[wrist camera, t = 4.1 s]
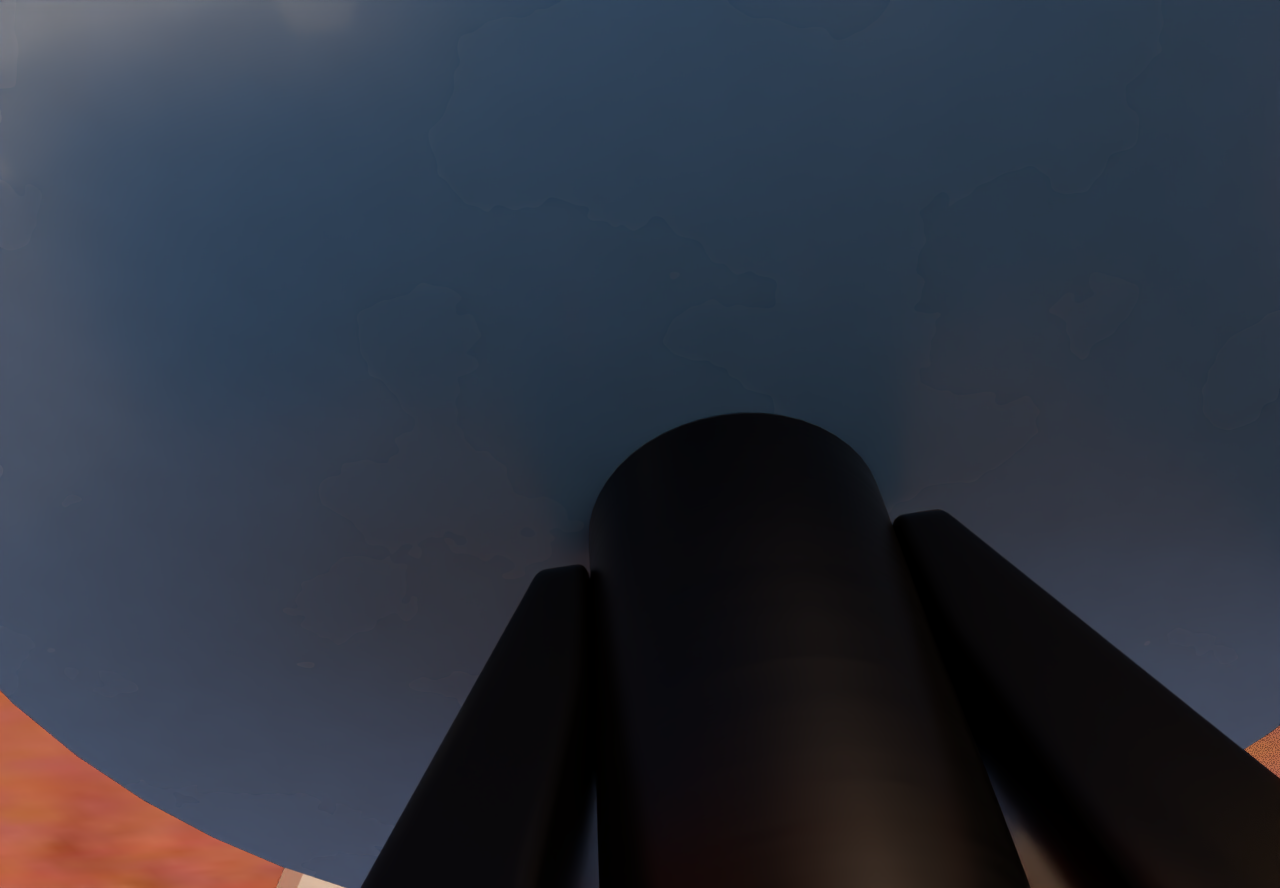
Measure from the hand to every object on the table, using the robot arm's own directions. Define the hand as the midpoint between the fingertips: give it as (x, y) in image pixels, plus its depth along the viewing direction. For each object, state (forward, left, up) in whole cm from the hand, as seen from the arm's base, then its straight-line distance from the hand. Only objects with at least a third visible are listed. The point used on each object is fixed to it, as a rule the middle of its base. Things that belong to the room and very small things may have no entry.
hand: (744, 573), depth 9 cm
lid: (0, 0, -1) cm, 1 cm away
